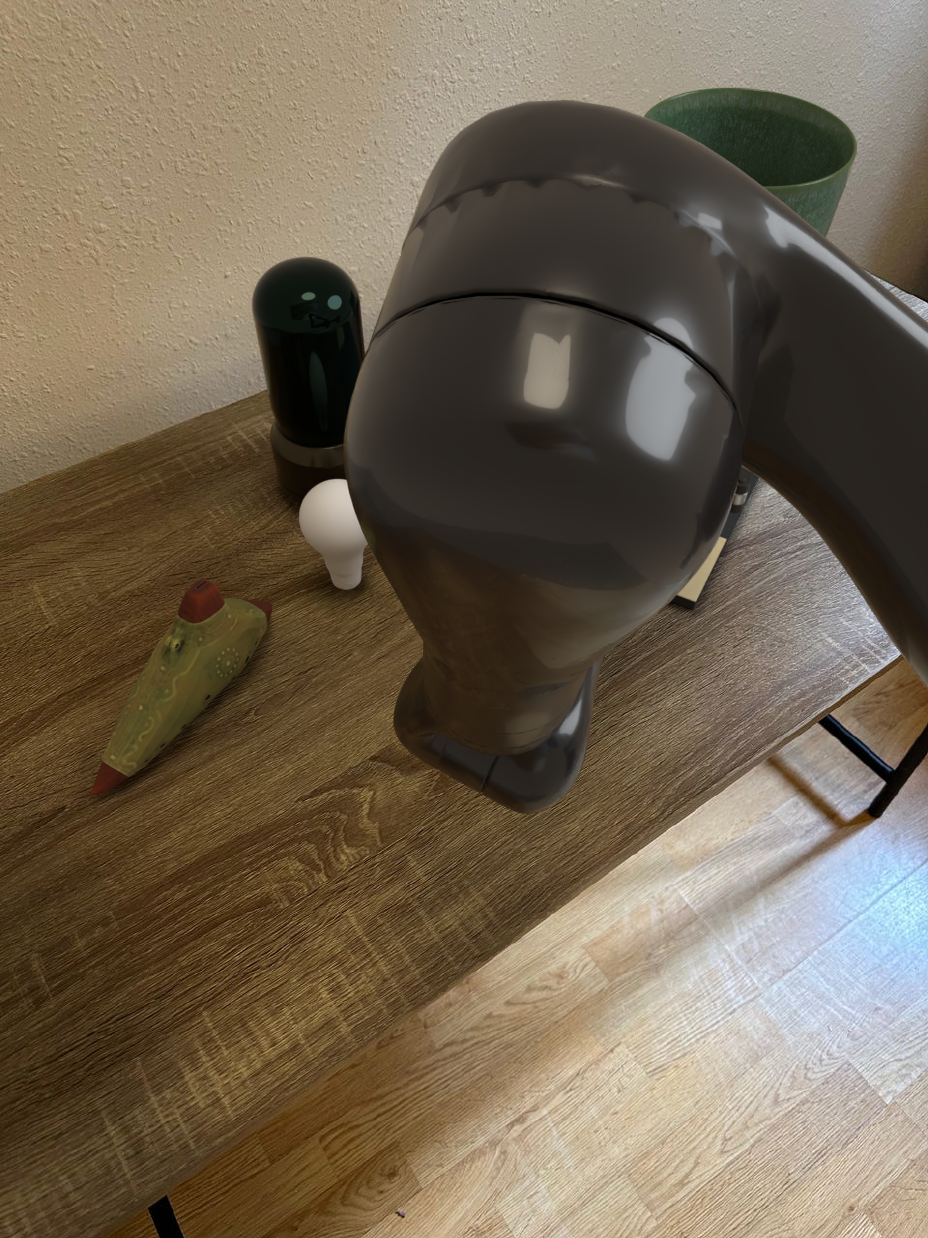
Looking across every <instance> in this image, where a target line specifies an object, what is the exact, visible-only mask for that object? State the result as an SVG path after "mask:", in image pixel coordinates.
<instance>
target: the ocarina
mask: <svg viewBox="0 0 928 1238" xmlns="http://www.w3.org/2000/svg"><path fill="white" fill-rule="evenodd" d="M272 613H273V604H272V603H271V602H270V601H267V600H259V599H246V598H239V597H238V598H235V597H223V594H222V592H221V590H220V588H219V586H218V585H217V584H216V583H215V582H213V581H211V580H208V579H204V578H201V579H198V580H197V581H194V582H193V584H191V586H190V587H188V589H187V590H186V591H185V592H184V594H183V597H182V599H181V601H180V604H179V606H178V609H177V612H176V615H175V616H174V617H175V618H174V620H173V622H172V624H171V625H170V627H169V628H168V630H167V631H166V632H165V633H164V634H163V636H162V637H161V638H160V640H159V642H158V643H157V645H156V646H155V648H154V650H153V652H152V653H151V655H150V656H149V659H148V660H147V662H146V664H145V666H144V667H143V669H142V671H141V672H140V675H139V677H138V679H137V680H136V682H135V684H134V685H133V688H132V689H131V692H130V694H129V696H128V698H127V700H126V702H125V703H124V706H123V707H122V710H121V713H120V715H119V717H118V719H117V723H116V724H115V728H114V730H113V733H112V735H111V738H110V740H109V742H108V744H107V746H106V747H105V750H104V753H103V756H102V759H101V762H100V765H99V767H98V768H99V769H98V772H97V774H96V776H95V779H94V782H93V785H92V790H91V794H92V795H93V796H99V795H102V794H104V793H107V792H108V791H109V790H111V789H113V788H115V787H117V786H118V785H120V784H122V783H123V782H124V781H126V780H127V779H129V778H130V777H131V776H133V775H134V774H136V773H137V772H139V771H140V770H142V769H143V768H145V767H146V766H148V764H149V763H150V762H151V761H152V760H153V759H154V758H155V757H156V756H158V754H159V753H160V752H162V750H164V749H165V748H166V747H167V746H168V745H169V744H170V743H171V742H172V741H173V740H174V739H175V738H176V737H177V736H178V735H179V734H181V732H182V731H183V730H184V729H185V728H186V727H187V726H188V725H190V723H191V722H192V721H193V720H195V719H196V717H198V715H199V714H201V713H202V711H203V710H204V709H206V708H207V707H208V705H209V704H210V703H211V702H212V701H213V700H214V699H215V697H217V696H218V695H219V694H220V693H221V692H222V691H223V690H224V688H226V687H227V686H228V685H229V684H230V683H232V682H233V680H234V679H236V678H237V677H238V676H239V675H240V673H242V671H243V670H244V669H245V668H246V666H247V664H248V662H249V661H250V660H251V658H252V656H253V654H254V652H255V651H256V649H257V647H258V645H259V643H260V641H261V639H262V638H263V636H264V635H265V633H266V631H267V628H268V626H269V623H270V620H271V618H272Z"/></svg>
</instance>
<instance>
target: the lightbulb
mask: <svg viewBox="0 0 928 1238" xmlns="http://www.w3.org/2000/svg"><path fill="white" fill-rule="evenodd" d="M298 523H299V529H300V531H301V533H302V535H303V538H304V540H305V541H306V543H308V545H310V546H311V547H312V548H313V549H314V550H315V551H317V552H318V553H319V554H320V555H321V556H322V558H323V560H324V564H325V567H326V569H327V570H328V572H329V575H330V579H331V582H332V584H333V586H335V587H336V588H338V589H340V590H345V591H346V590H348V591H349V590H352V589H354V588H356V587H357V586H359V584H360V583H361V581H362V566H363V563H364V552H365V549H366V548H367V546H369V545H368V543H367V541H366V539H365V537H364V534H363V532H362V530H361V527H360V525H359V522H358V520H357V517H356V514H355V512H354V508H353V505H352V502H351V498H350V495H349V491H348V486H347V481H346V480H343V479H332V480H327V481H324V482H322V483H320V484H318V485H317V486H315V487H314V488H312V489H311V490H310V491H309V492H308V494H307V495H306V496H305V498H304V499H303V501H302V504H301V505H300V507H299V513H298Z"/></svg>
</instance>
